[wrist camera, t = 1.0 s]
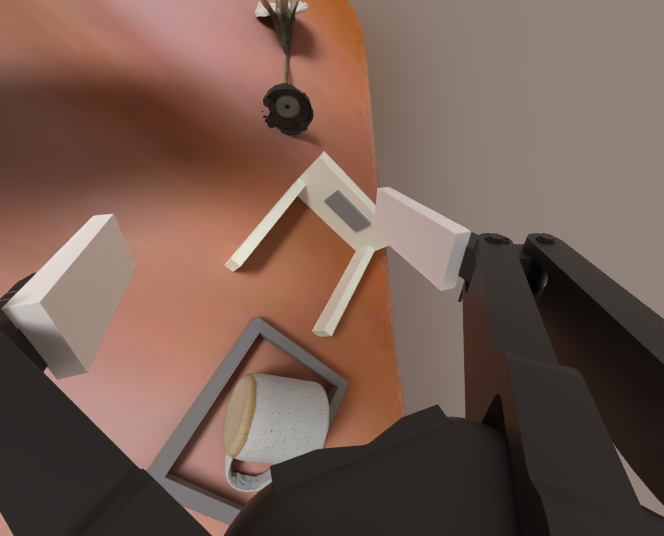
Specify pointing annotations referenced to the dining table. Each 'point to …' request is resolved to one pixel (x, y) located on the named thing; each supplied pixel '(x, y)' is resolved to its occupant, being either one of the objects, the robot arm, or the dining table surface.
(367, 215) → the mug dock
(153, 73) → the dining table surface
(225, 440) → the ceramic mug
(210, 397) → the gray rectangular frame
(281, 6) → the artificial flower
